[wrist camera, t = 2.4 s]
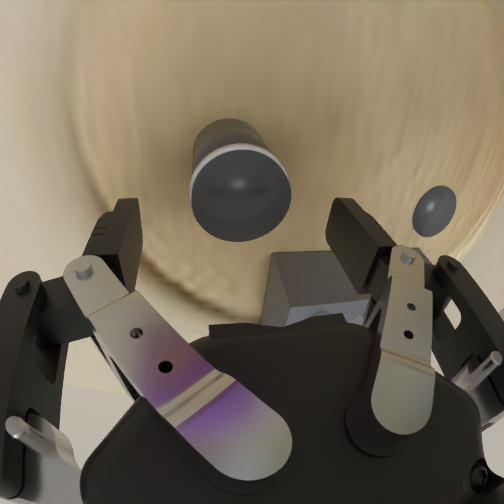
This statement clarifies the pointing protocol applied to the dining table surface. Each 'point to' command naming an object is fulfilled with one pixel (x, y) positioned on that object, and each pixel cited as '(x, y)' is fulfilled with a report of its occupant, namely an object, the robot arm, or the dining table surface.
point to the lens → (237, 183)
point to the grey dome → (434, 211)
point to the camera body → (311, 289)
